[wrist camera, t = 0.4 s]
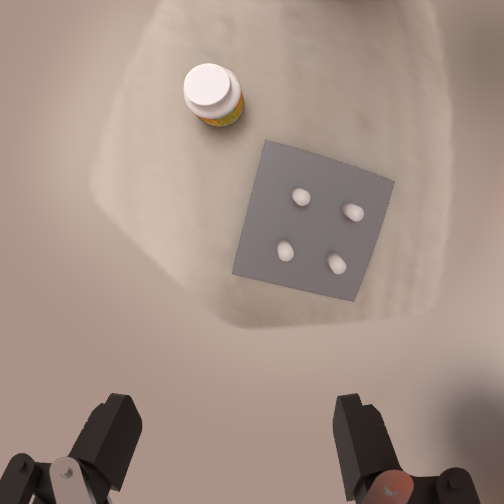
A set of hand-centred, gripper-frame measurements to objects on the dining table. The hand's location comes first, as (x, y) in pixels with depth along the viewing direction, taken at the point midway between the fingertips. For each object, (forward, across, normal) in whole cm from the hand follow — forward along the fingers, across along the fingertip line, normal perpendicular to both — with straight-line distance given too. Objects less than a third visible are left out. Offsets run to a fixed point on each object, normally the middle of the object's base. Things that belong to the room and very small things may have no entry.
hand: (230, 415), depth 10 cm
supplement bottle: (+27, +2, -15) cm, 31 cm away
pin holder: (+26, -8, -1) cm, 28 cm away
